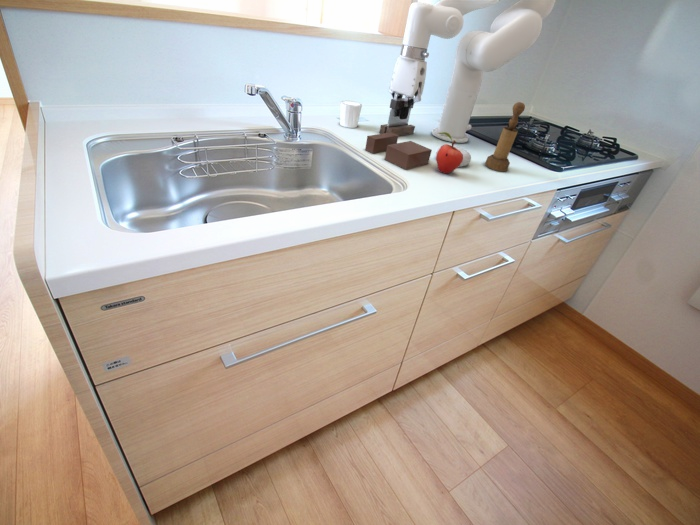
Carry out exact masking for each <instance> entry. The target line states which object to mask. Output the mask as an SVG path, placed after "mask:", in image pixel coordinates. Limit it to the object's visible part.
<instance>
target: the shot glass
mask: <svg viewBox="0 0 700 525" xmlns="http://www.w3.org/2000/svg"><path fill="white" fill-rule="evenodd" d="M362 108H363V105H362V103H360V102H358V101H353V100H342V101H340V119H339V120H340V122H339V124H340V126H342V127H344V128H347V129H356V128H357V127H358V124H359V120H360V116H361V111H362Z"/></svg>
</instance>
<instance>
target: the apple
mask: <svg viewBox="0 0 700 525" xmlns="http://www.w3.org/2000/svg"><path fill="white" fill-rule="evenodd" d="M439 134H445V135H447V136H448V137H449V138H450V139H451V140H452V138H451V136H450V134H448V133H446V132H444V133H439ZM455 144H456V141H455V140H454V141H452V142H451V145H450V144H443V145H441V146H440V147H441V148H440V147H439V148H440V149H439V148H438V149H439V151H438V153H437V155H436V158H435V159H436V166H437V170H438V171H439V172H440V173H443V174H450V173H453V172H454V171H455V170H457V169H458V168H459V167H460V166H459V165H460V164H461V163H462V161H463V154H462V153H461V152H460V151H459V150H458V149H456V148H455V147H456V146H454V145H455ZM453 146H454V147H453Z"/></svg>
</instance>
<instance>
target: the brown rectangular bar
mask: <svg viewBox="0 0 700 525" xmlns="http://www.w3.org/2000/svg"><path fill="white" fill-rule="evenodd" d="M398 140H399V136H398V135H396V134H394V133H391V132H390V133H383V134H381V133H377V134H371V135H367V137H366V143H365V149H364V150H365V151H366V152H368V153H370V154H377V153H383V152H386V150H387V145H391V144H396V143H398Z"/></svg>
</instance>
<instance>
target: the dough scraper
mask: <svg viewBox="0 0 700 525" xmlns="http://www.w3.org/2000/svg"><path fill="white" fill-rule="evenodd" d="M404 101H405V97H402V98H401V99H393V98H391V99H390V104H389V109H390V110H389V115H388V120H387V124H388V125H387V128H390V127H397V126H404V125H409V120H410V115H411V111H412V109H413V108H414V104H415V103H414V104H413V105H412V106H410V108H409V113H408V116H407V119H400V118H399V117H400V113H401V109H402V106H404ZM386 133H387V130H386Z"/></svg>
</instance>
